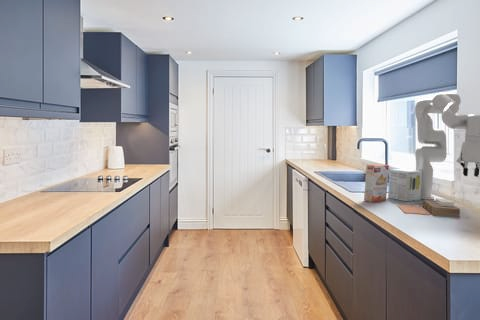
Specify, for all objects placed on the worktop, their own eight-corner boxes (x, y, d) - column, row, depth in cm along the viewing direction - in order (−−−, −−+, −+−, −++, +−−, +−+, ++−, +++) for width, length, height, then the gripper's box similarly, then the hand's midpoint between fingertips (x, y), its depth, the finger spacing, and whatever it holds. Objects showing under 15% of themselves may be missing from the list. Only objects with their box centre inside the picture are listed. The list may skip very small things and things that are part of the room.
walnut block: (422, 206, 210) (422, 199, 210) (446, 208, 208) (447, 201, 207) (432, 215, 191) (433, 207, 190) (459, 217, 188) (459, 208, 188)
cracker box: (372, 202, 218) (374, 165, 216) (363, 200, 223) (365, 164, 221) (387, 200, 226) (389, 164, 224) (378, 198, 231) (380, 163, 229)
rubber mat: (396, 205, 213) (396, 204, 213) (420, 206, 210) (420, 206, 210) (404, 213, 193) (404, 212, 193) (430, 214, 191) (430, 214, 191)
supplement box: (405, 201, 225) (407, 171, 223) (387, 197, 236) (389, 169, 235) (420, 200, 231) (422, 170, 229) (402, 196, 242) (404, 168, 241)
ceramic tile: (435, 202, 203) (436, 198, 203) (448, 203, 202) (448, 199, 202) (440, 205, 195) (441, 201, 194) (453, 206, 193) (454, 202, 193)
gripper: (489, 140, 195) (486, 176, 197) (452, 138, 198) (450, 174, 200) (495, 140, 188) (492, 178, 189) (457, 139, 191) (454, 176, 193)
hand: (470, 175), depth 195 cm, fingers open, 4 cm apart
